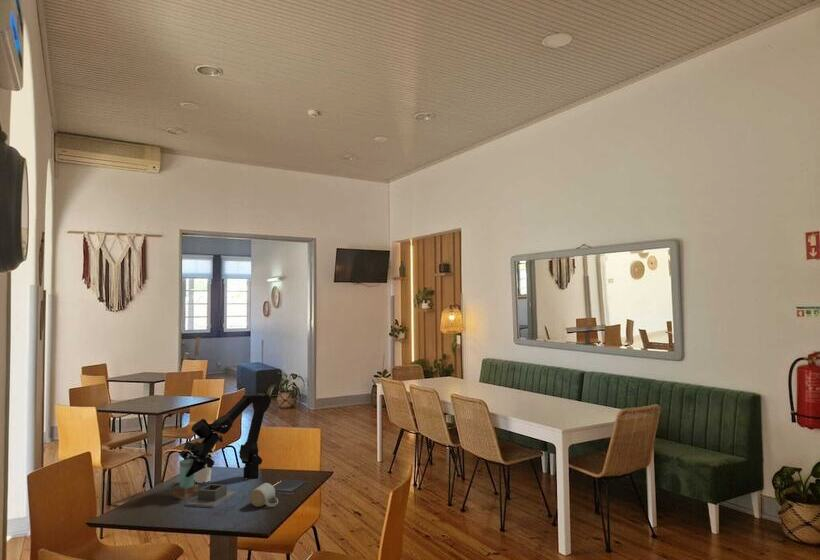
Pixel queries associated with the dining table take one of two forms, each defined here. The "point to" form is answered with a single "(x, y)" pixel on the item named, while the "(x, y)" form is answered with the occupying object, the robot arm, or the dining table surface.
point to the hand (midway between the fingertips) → (183, 476)
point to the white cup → (203, 475)
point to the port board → (211, 496)
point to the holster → (185, 492)
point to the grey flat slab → (288, 486)
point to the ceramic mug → (263, 496)
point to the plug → (184, 468)
